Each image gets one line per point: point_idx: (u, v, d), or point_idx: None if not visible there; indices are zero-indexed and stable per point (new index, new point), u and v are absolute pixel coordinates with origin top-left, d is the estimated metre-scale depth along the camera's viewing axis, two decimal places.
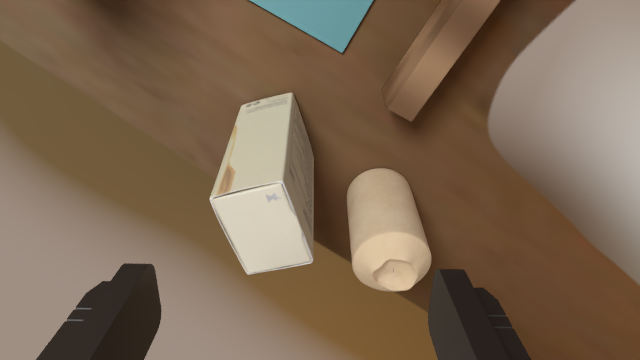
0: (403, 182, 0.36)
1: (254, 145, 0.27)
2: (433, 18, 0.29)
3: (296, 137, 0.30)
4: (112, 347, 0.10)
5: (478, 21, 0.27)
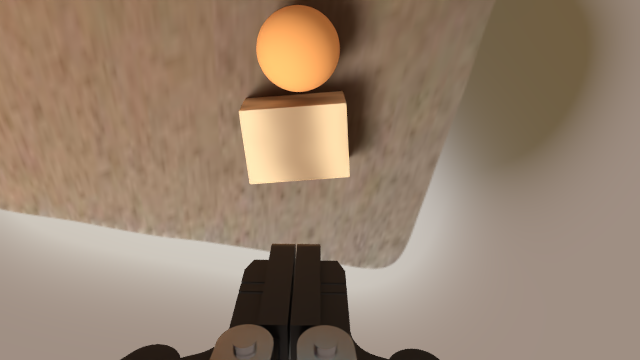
0: None
1: None
2: None
3: None
4: (289, 315, 0.11)
5: None
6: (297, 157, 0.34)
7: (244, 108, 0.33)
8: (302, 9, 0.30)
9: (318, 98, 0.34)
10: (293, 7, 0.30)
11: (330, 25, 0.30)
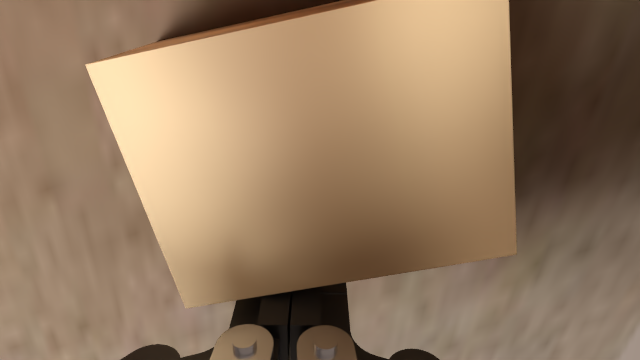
0: None
1: None
2: None
3: None
4: (289, 315, 0.11)
5: None
6: (329, 209, 0.10)
7: (116, 56, 0.09)
8: None
9: None
10: None
11: None
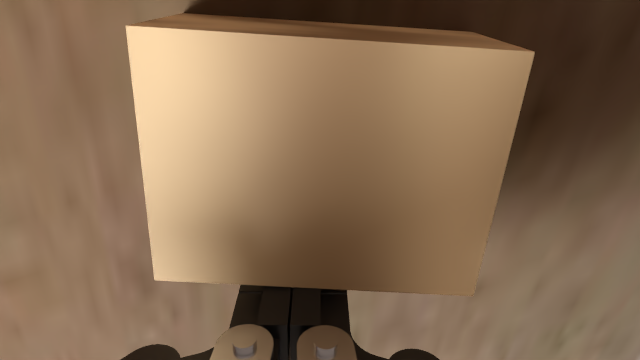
0: None
1: None
2: None
3: None
4: (289, 315, 0.11)
5: None
6: (320, 219, 0.10)
7: (154, 23, 0.09)
8: None
9: (412, 34, 0.10)
10: None
11: None
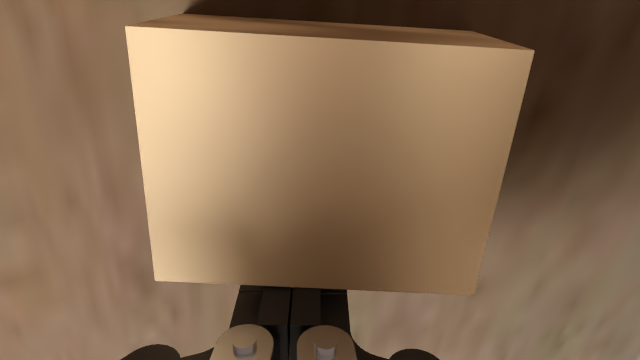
0: None
1: None
2: None
3: None
4: (289, 315, 0.11)
5: None
6: (320, 218, 0.10)
7: (154, 24, 0.09)
8: None
9: (412, 33, 0.10)
10: None
11: None
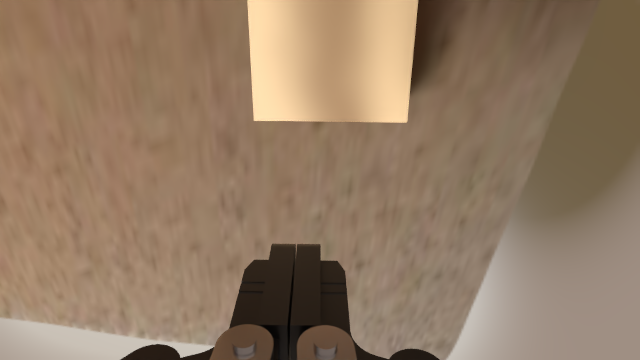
0: None
1: None
2: None
3: None
4: (289, 315, 0.11)
5: None
6: (330, 83, 0.22)
7: None
8: None
9: None
10: None
11: None
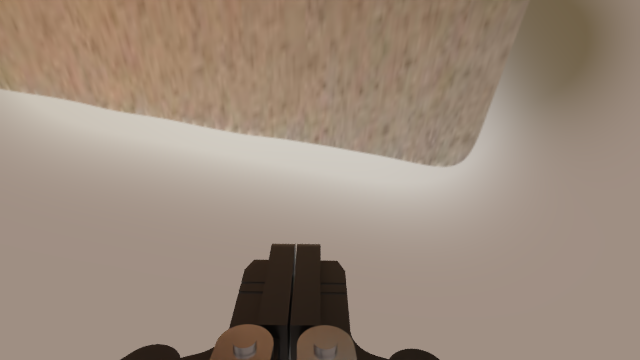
0: None
1: None
2: None
3: None
4: (289, 315, 0.11)
5: None
6: None
7: None
8: None
9: None
10: None
11: None
